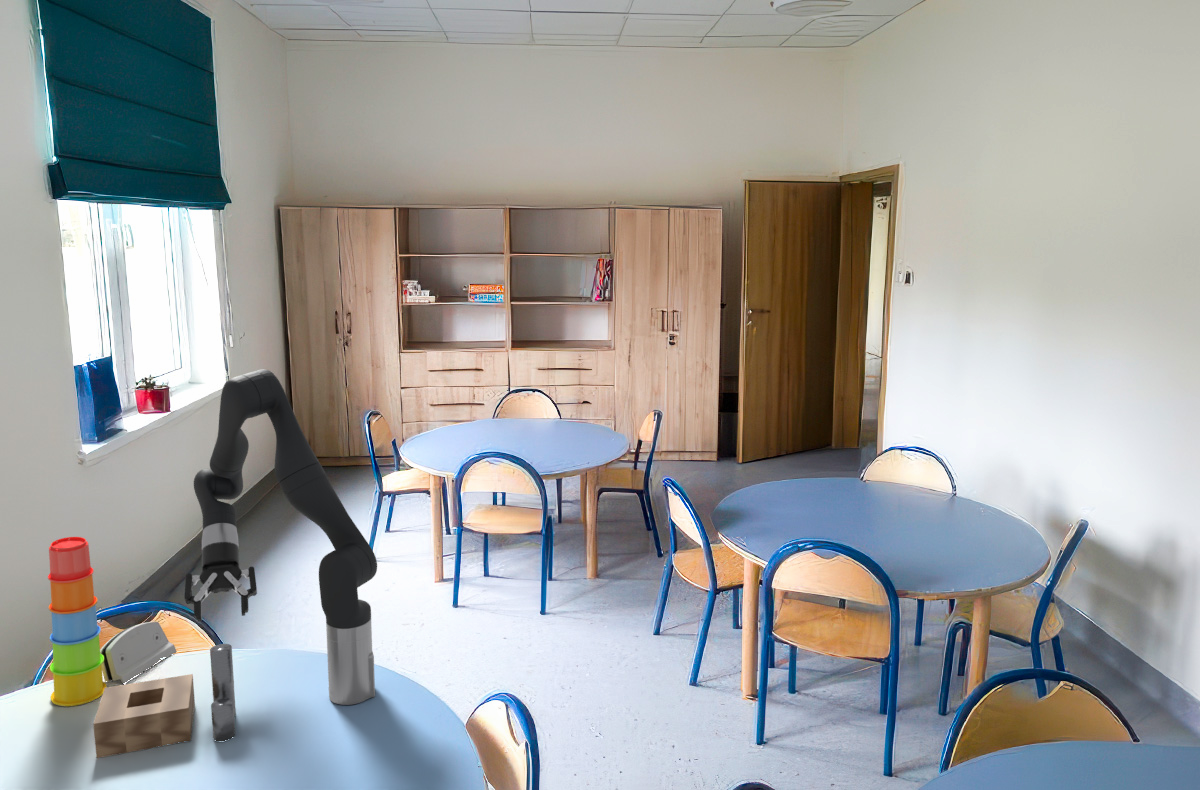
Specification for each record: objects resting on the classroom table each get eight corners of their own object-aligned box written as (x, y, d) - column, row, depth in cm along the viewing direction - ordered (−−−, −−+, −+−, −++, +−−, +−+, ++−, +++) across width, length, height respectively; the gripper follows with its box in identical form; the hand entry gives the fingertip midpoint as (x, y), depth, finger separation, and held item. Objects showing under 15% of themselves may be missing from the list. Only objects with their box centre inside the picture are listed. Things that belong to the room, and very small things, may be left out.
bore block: (194, 704, 178) (192, 673, 177) (190, 740, 165) (188, 707, 164) (107, 719, 172) (104, 687, 171) (96, 758, 159) (93, 723, 158)
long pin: (236, 709, 177) (231, 642, 174) (235, 719, 173) (231, 651, 170) (214, 713, 175) (210, 645, 172) (214, 723, 171) (209, 654, 169)
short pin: (235, 728, 170) (233, 696, 168) (235, 739, 166) (233, 706, 165) (213, 732, 168) (211, 700, 167) (212, 743, 165) (210, 710, 163)
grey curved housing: (123, 685, 185) (106, 643, 184) (106, 689, 187) (90, 647, 186) (177, 650, 201) (162, 611, 200) (162, 654, 203) (147, 615, 202)
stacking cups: (111, 679, 188) (98, 529, 182) (101, 703, 178) (86, 545, 172) (58, 686, 184) (43, 534, 178) (44, 710, 175) (27, 550, 169)
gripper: (183, 544, 184) (183, 615, 176) (254, 537, 189) (257, 605, 181) (186, 559, 190) (186, 628, 181) (255, 551, 195) (258, 618, 187)
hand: (221, 617), depth 181 cm, fingers open, 8 cm apart
